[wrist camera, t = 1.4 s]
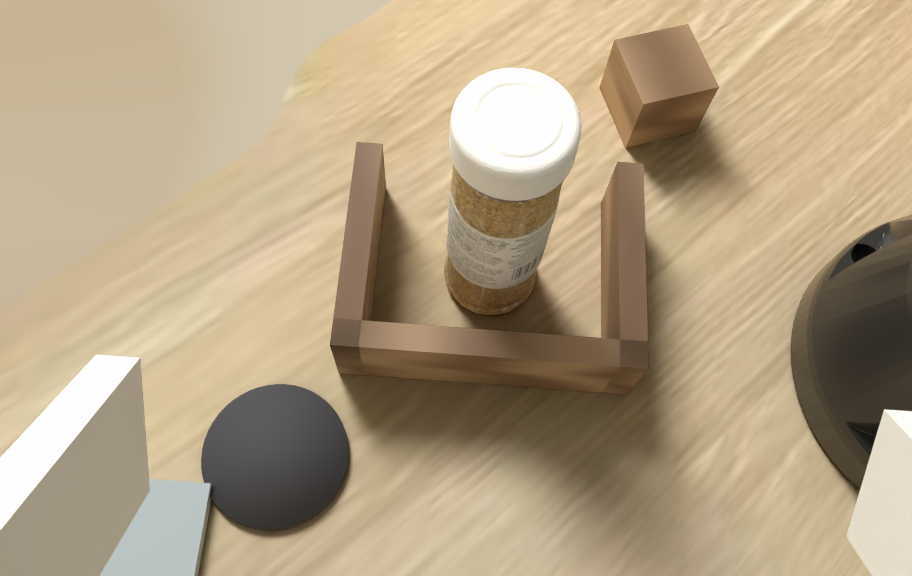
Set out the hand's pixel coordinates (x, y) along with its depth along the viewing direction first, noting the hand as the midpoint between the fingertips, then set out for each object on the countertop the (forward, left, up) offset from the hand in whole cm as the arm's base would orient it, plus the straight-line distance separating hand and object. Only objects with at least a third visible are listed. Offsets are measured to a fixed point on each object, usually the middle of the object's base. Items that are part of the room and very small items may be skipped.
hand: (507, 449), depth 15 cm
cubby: (-1, -13, -23) cm, 26 cm away
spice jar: (-1, -13, -23) cm, 26 cm away
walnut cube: (-9, -24, -23) cm, 34 cm away
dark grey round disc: (+8, -4, -22) cm, 24 cm away
